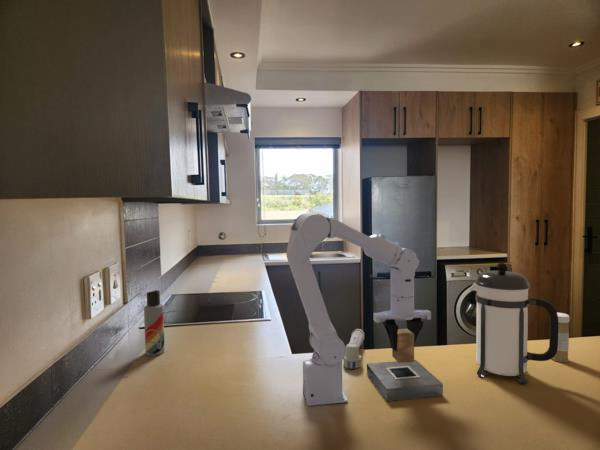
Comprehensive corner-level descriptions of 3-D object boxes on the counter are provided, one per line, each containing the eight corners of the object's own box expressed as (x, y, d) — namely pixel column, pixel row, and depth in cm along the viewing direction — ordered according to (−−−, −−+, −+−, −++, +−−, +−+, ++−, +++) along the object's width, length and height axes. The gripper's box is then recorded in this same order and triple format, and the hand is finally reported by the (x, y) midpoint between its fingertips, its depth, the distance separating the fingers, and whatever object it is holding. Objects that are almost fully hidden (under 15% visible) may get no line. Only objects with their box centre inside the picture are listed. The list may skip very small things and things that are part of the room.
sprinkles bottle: (546, 355, 109) (547, 311, 108) (563, 357, 108) (564, 312, 107) (554, 362, 104) (554, 316, 104) (572, 363, 103) (572, 316, 103)
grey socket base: (386, 401, 85) (386, 388, 85) (366, 374, 99) (366, 362, 98) (442, 395, 87) (442, 382, 87) (415, 370, 101) (415, 358, 100)
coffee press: (501, 391, 88) (502, 269, 87) (458, 364, 104) (459, 260, 103) (559, 382, 92) (561, 265, 91) (509, 357, 108) (510, 257, 107)
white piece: (366, 328, 125) (360, 345, 101) (366, 348, 125) (360, 369, 100) (351, 327, 126) (341, 343, 102) (351, 347, 126) (341, 367, 102)
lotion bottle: (153, 357, 112) (151, 293, 111) (141, 354, 115) (139, 291, 114) (168, 351, 117) (166, 289, 116) (156, 347, 120) (154, 287, 119)
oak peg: (398, 362, 90) (398, 334, 89) (392, 356, 94) (392, 329, 93) (414, 361, 90) (414, 333, 90) (407, 355, 94) (407, 328, 94)
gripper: (380, 300, 87) (380, 356, 87) (437, 297, 89) (437, 352, 89) (370, 293, 94) (370, 345, 94) (423, 291, 96) (423, 341, 96)
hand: (402, 348), depth 92 cm, fingers closed on oak peg, 4 cm apart
